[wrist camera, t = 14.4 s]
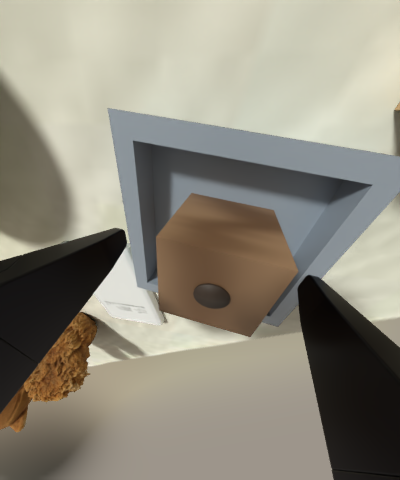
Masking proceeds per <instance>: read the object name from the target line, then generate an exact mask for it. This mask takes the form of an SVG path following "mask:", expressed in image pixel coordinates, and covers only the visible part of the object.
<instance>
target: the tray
mask: <svg viewBox="0 0 400 480" xmlns="http://www.w3.org/2000/svg"><path fill="white" fill-rule="evenodd" d="M108 113H109V119H110V125H111V131H112V137H113V143H114V149H115V155H116V161H117V167H118V173H119V180H120V186H121V192H122V198H123V204H124V210H125V216H126V222H127V228H128V234H129V240H130V246H131V252H132V258H133V264H134V270H135V276H136V282H137V287H139V288H143V289H146V290H150V291H153V292H157V293H158V273H157V250H156V236H157V235H158V234H159V232H160V231H161V230H162V229H163V227H164V226H165V225H166V224H167V222H168V221H169V220H170V219H171V218H172V216H173V215H174V214H175V213H176V211H177V210H178V209H179V208H180V207H181V205H182V204H183V203H184V202H185V200H186V199H187V198H188V197H189V195H190V194H191V193H194V194H199V195H204V196H209V197H214V198H218V199H223V200H228V201H233V202H237V203H242V204H247V205H252V206H257V207H261V208H266V209H271V210H274V212H275V214H276V217H277V219H278V222H279V224H280V227H281V229H282V232H283V234H284V237H285V239H286V242H287V244H288V247H289V249H290V251H291V254H292V256H293V259H294V261H295V264H296V266H297V269H298V273H297V274H296V276H295V277H294V278H293V280H292V281H291V282H290V284H289V285H288V286H287V288H286V289H285V290H284V292H283V293H282V295H281V296H280V297H279V299H278V300H277V301H276V303H275V304H274V305H273V307H272V308H271V310H270V311H269V312H268V314H267V315H266V316H265V318H264V319H263V320H262V322H263V323H267V324H270V325H274V326H277V327H278V326H279V325H280V324H281V323H282V322H283V320H284V319H285V318H286V317H287V316H288V315H289V314H290V313H291V312H292V311H293V309H294V308H295V307H296V306H297V305H298V304H299V303H298V293H297V288H298V286H299V284H300V283H301V282H302V281H303V279H304V278H305V277H306V276H307V275H313V276H317V277H319V278H320V279H321V278H322V277H323V276H324V275H325V274H326V273H327V272H328V271H329V270H330V268H331V267H332V266H333V265H334V264H335V263H336V262H337V261H338V260H339V258H340V257H341V256H342V255H343V254H344V253H345V252H346V251H347V250H348V249H349V247H350V246H351V245H352V244H353V243H354V242H355V241H356V240H357V239H358V237H359V236H360V235H361V234H362V233H363V232H364V231H365V230H366V229H367V227H368V226H369V225H370V224H371V223H372V222H373V221H374V220H375V219H376V218H377V216H378V215H379V214H380V213H381V212H382V211H383V210H384V209H385V208H386V206H387V205H388V204H389V203H390V202H391V201H392V200H393V199H394V198H395V196H396V195H397V194H398V193H399V192H400V157H398V156H392V155H386V154H380V153H374V152H368V151H362V150H356V149H350V148H344V147H338V146H332V145H326V144H320V143H314V142H308V141H302V140H296V139H290V138H284V137H278V136H272V135H266V134H260V133H254V132H248V131H242V130H236V129H230V128H224V127H218V126H212V125H206V124H200V123H194V122H188V121H182V120H176V119H170V118H164V117H158V116H152V115H146V114H140V113H134V112H128V111H122V110H116V109H110V108H108Z"/></svg>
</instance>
